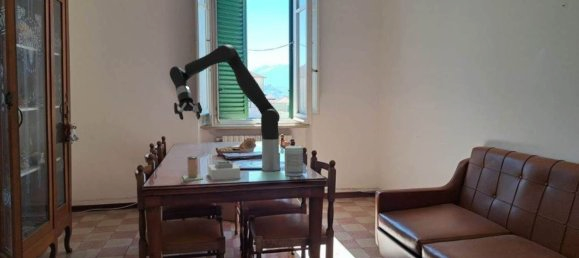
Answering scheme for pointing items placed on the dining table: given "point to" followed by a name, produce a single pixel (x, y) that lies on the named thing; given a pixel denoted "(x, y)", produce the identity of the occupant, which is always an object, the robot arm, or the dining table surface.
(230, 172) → the parts tub
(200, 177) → the sage mat
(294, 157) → the supplement tub
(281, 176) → the dining table surface
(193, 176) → the tan brown block
